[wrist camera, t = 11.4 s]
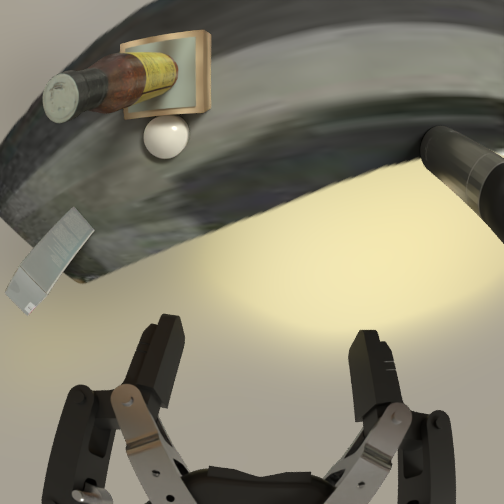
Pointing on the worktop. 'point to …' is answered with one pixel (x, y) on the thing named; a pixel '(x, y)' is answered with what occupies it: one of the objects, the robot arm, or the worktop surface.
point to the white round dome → (166, 136)
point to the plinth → (189, 74)
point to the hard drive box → (48, 261)
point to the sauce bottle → (109, 84)
